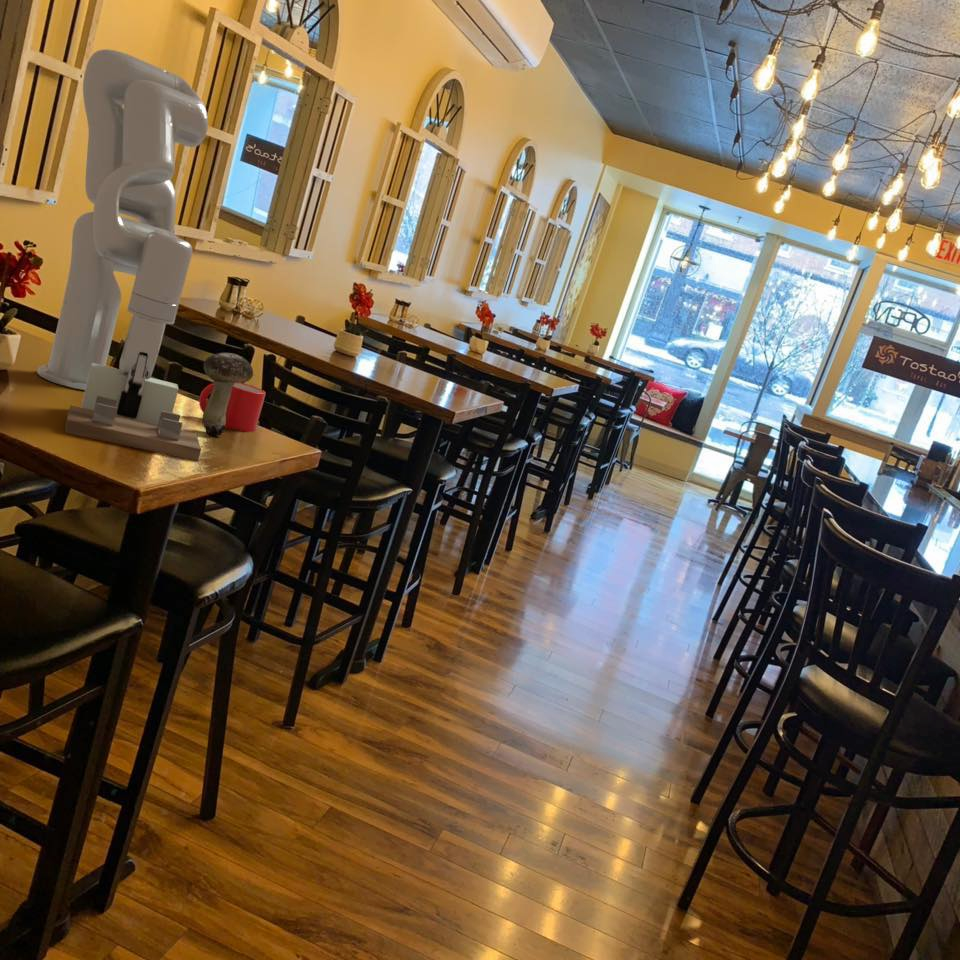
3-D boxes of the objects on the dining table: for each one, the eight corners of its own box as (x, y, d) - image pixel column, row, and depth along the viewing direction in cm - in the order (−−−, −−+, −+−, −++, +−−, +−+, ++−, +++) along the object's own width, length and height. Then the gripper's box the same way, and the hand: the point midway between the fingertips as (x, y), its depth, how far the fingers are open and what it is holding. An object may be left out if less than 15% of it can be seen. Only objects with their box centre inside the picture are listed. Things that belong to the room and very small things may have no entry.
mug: (190, 411, 182) (200, 373, 181) (249, 423, 189) (259, 386, 187) (199, 422, 176) (209, 382, 174) (260, 434, 182) (270, 396, 181)
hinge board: (67, 417, 150) (74, 387, 149) (193, 444, 158) (200, 416, 158) (64, 432, 141) (71, 401, 140) (198, 460, 150) (205, 431, 149)
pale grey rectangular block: (80, 407, 157) (91, 362, 156) (165, 427, 163) (177, 384, 162) (80, 413, 154) (91, 367, 152) (166, 433, 160) (178, 388, 158)
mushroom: (221, 429, 176) (242, 353, 173) (244, 444, 171) (266, 365, 168) (176, 423, 169) (196, 343, 166) (198, 438, 164) (220, 356, 161)
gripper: (128, 295, 160) (103, 396, 164) (130, 309, 146) (102, 420, 149) (173, 308, 164) (147, 406, 167) (179, 323, 149) (150, 431, 153)
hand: (126, 411), depth 158 cm, fingers closed on pale grey rectangular block, 3 cm apart
